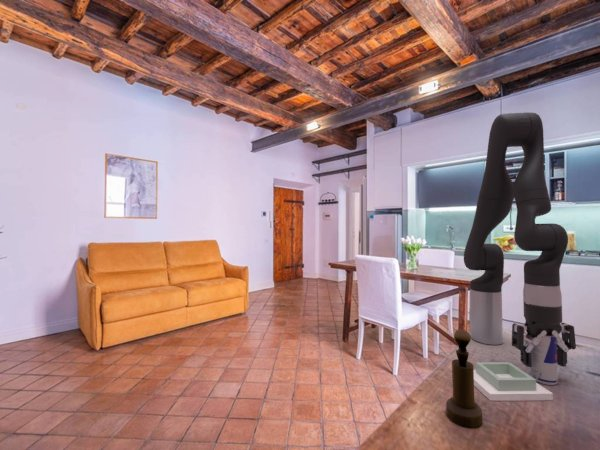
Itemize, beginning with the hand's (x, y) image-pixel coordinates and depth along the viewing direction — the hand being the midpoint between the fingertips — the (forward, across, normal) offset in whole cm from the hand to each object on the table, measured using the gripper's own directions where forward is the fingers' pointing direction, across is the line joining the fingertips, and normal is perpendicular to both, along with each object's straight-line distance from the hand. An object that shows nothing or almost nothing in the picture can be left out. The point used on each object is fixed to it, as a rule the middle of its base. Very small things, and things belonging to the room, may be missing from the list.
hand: (543, 365), depth 73 cm
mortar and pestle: (+4, +28, +14) cm, 32 cm away
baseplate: (+4, +12, +3) cm, 13 cm away
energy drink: (+4, 0, 0) cm, 4 cm away
